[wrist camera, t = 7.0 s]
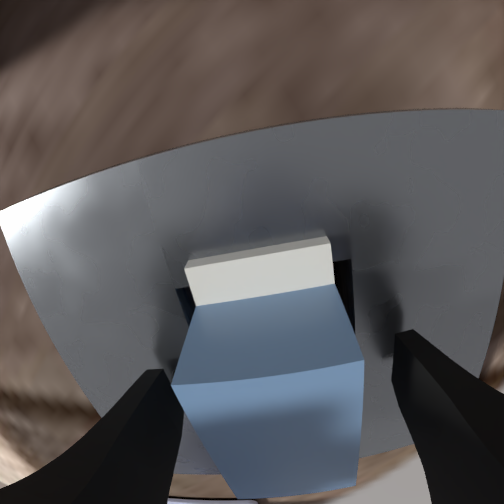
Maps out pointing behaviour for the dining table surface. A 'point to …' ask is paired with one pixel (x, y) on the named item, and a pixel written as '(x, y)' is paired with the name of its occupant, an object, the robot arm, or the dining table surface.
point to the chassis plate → (273, 233)
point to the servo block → (273, 370)
